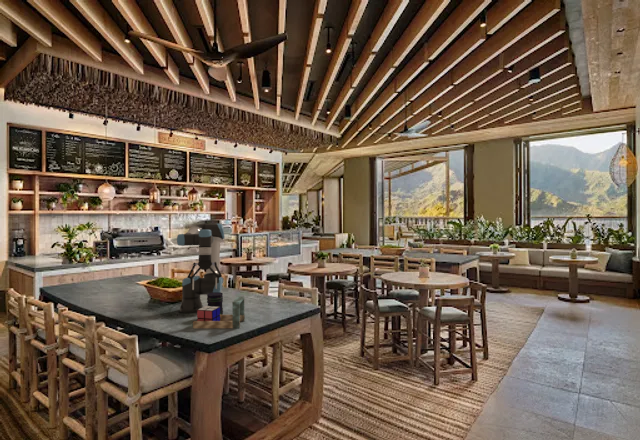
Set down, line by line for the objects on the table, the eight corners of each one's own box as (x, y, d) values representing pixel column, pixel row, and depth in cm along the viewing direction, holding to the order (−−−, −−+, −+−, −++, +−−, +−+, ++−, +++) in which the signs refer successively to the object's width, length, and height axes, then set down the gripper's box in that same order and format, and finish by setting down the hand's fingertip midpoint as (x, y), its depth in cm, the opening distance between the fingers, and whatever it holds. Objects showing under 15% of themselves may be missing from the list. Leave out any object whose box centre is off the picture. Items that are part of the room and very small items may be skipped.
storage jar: (217, 314, 253) (216, 291, 253) (226, 316, 247) (226, 293, 247) (204, 317, 246) (203, 294, 246) (213, 319, 240) (212, 296, 239)
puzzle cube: (212, 327, 223) (212, 310, 223) (196, 326, 225) (196, 309, 225) (220, 322, 233) (220, 306, 233) (205, 322, 235) (205, 305, 235)
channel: (193, 328, 221) (192, 302, 221) (201, 321, 236) (200, 296, 236) (239, 328, 222) (239, 302, 221) (244, 320, 237) (244, 296, 236)
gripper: (183, 254, 229) (182, 290, 227) (226, 254, 236) (226, 288, 234) (184, 254, 236) (183, 289, 234) (225, 254, 243) (225, 287, 241)
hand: (204, 289), depth 234 cm, fingers open, 13 cm apart
